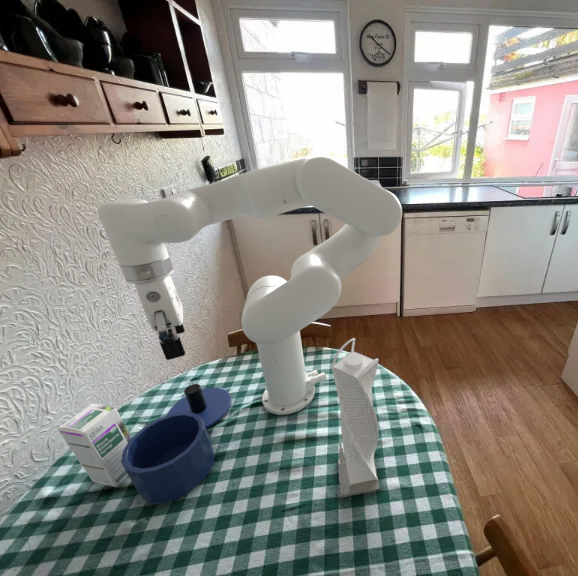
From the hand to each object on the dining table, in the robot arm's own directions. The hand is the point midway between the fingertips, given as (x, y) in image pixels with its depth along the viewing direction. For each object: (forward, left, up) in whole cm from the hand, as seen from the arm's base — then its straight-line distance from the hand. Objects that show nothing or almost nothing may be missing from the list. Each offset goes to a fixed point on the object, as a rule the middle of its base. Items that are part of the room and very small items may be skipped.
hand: (176, 344), depth 65 cm
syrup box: (+15, +8, -20) cm, 26 cm away
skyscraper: (-25, +33, -20) cm, 46 cm away
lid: (0, 0, -19) cm, 19 cm away
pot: (+5, +14, -20) cm, 24 cm away
